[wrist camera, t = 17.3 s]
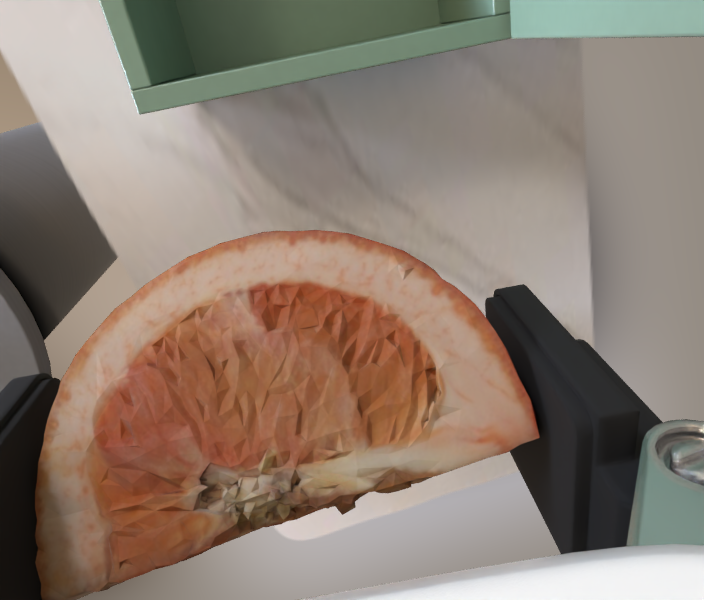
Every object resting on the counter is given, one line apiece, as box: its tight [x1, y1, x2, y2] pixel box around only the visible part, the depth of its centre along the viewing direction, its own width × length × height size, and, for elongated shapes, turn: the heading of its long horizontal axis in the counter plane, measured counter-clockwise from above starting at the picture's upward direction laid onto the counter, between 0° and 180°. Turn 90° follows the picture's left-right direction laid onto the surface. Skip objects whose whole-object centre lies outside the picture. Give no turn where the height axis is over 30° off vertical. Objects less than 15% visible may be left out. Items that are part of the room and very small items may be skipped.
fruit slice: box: [35, 230, 540, 600], centre depth 10 cm, size 8×7×5 cm
